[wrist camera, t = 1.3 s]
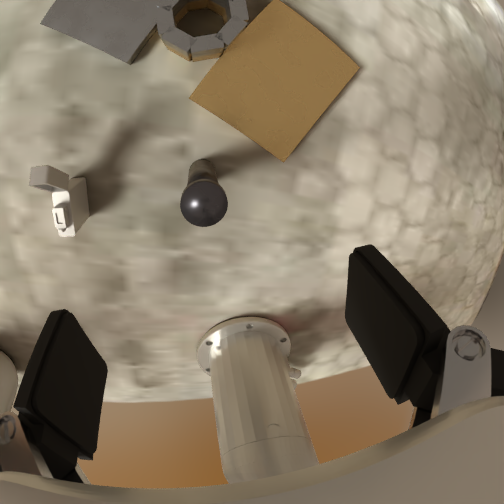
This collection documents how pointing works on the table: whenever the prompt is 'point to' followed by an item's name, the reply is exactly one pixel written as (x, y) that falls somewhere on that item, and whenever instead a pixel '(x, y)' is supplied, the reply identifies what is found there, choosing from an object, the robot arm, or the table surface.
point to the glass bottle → (7, 383)
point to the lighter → (63, 197)
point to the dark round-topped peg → (203, 196)
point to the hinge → (227, 59)
